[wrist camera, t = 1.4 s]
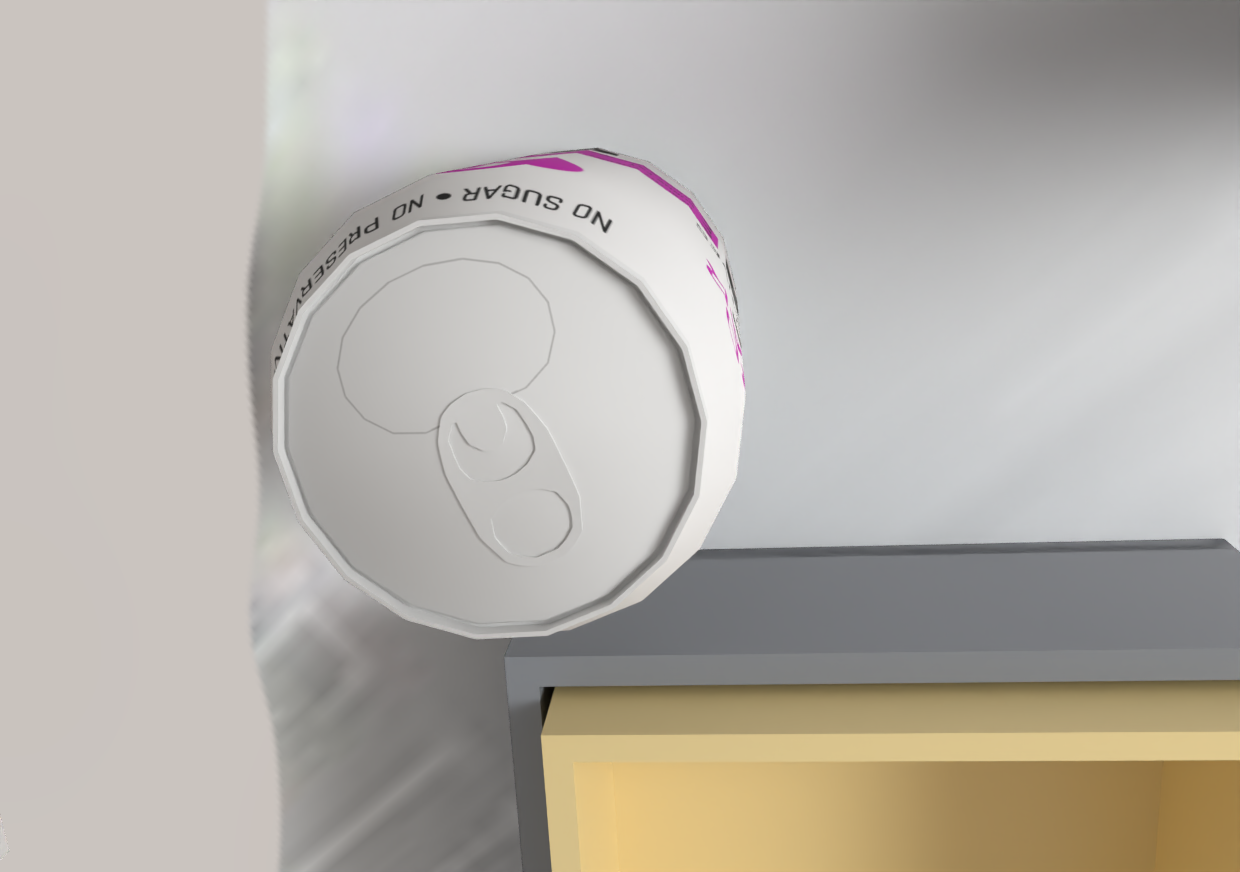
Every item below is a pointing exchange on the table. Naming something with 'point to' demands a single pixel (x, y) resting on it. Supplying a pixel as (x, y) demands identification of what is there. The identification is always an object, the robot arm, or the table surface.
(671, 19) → the table surface
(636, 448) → the supplement can
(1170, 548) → the outer crate
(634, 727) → the inner crate
